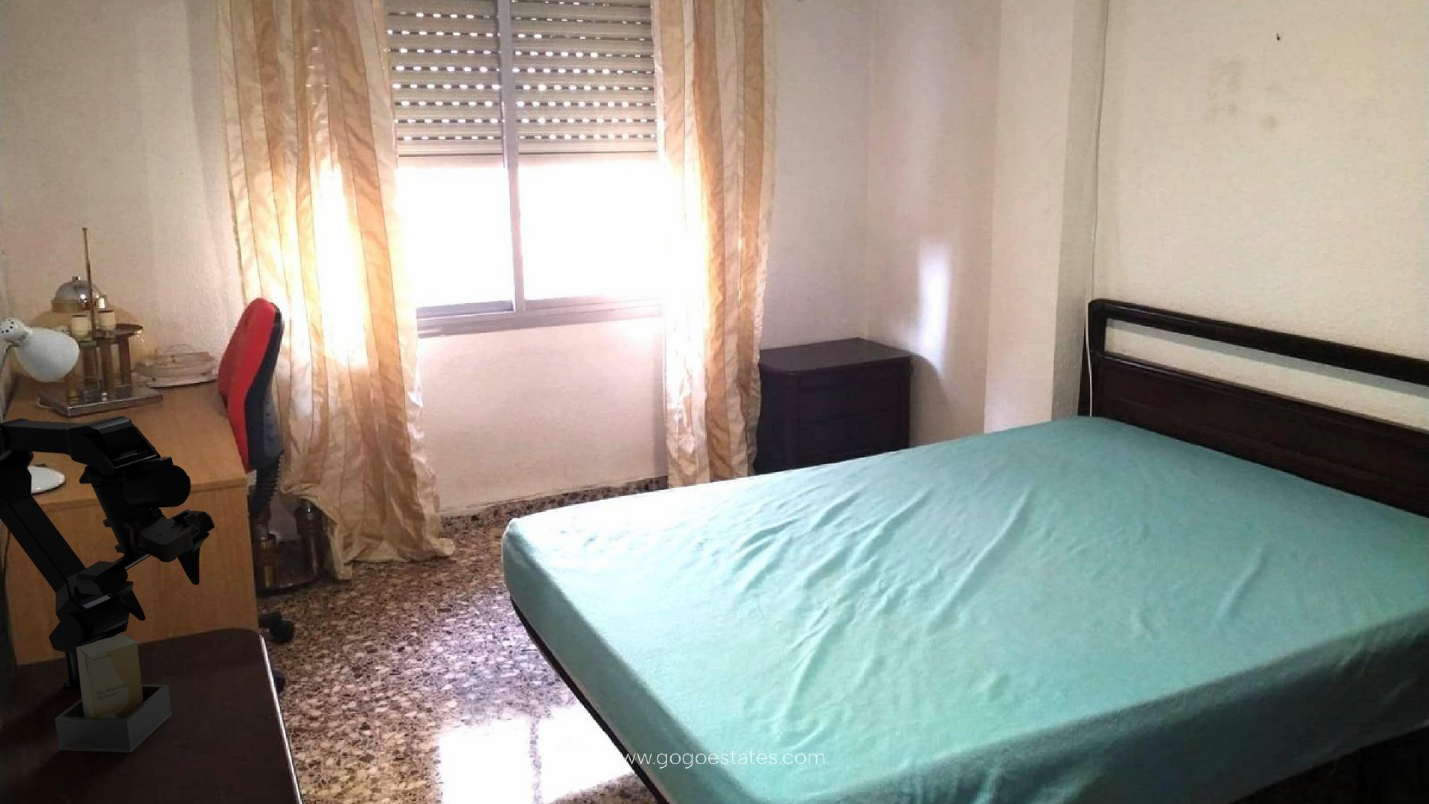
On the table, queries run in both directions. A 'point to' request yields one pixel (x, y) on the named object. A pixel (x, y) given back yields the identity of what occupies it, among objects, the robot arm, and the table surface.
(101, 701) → the skincare box
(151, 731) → the grey open tray
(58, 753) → the table surface
